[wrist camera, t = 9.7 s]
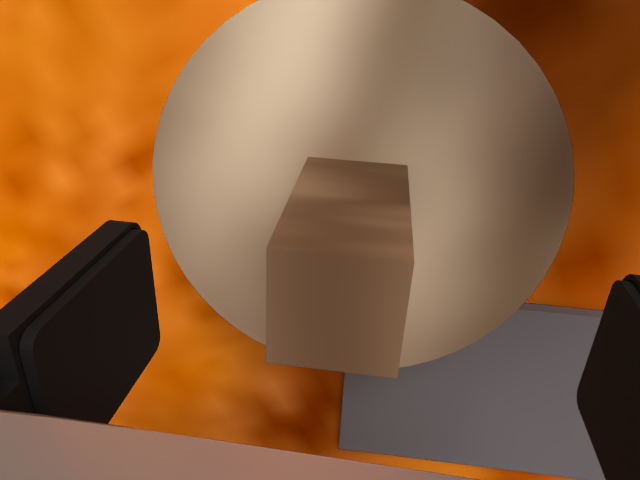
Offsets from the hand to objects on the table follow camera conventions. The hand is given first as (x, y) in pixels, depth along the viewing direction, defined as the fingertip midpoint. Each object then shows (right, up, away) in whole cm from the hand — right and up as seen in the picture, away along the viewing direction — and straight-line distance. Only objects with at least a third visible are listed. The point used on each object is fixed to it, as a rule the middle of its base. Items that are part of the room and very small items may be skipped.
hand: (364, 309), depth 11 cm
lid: (0, +3, +7) cm, 7 cm away
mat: (+7, -6, +16) cm, 18 cm away
